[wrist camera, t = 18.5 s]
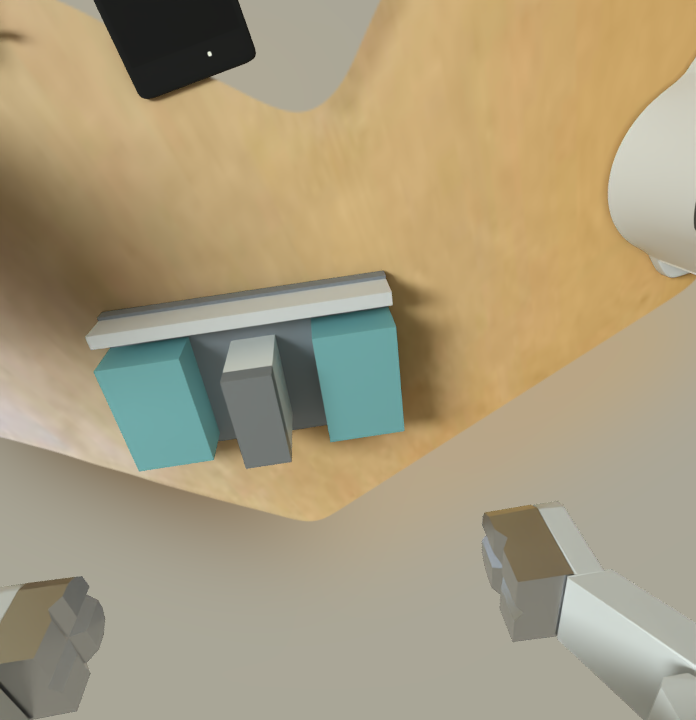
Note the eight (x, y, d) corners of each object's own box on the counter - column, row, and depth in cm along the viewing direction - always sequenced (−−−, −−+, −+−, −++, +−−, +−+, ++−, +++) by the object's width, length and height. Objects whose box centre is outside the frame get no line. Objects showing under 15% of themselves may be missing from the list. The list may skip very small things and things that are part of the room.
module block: (274, 334, 44) (271, 375, 38) (292, 414, 48) (291, 461, 42) (230, 340, 44) (219, 382, 38) (252, 420, 48) (245, 468, 42)
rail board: (383, 270, 43) (393, 292, 38) (395, 407, 51) (405, 439, 46) (101, 312, 43) (78, 339, 38) (156, 443, 50) (142, 479, 46)
